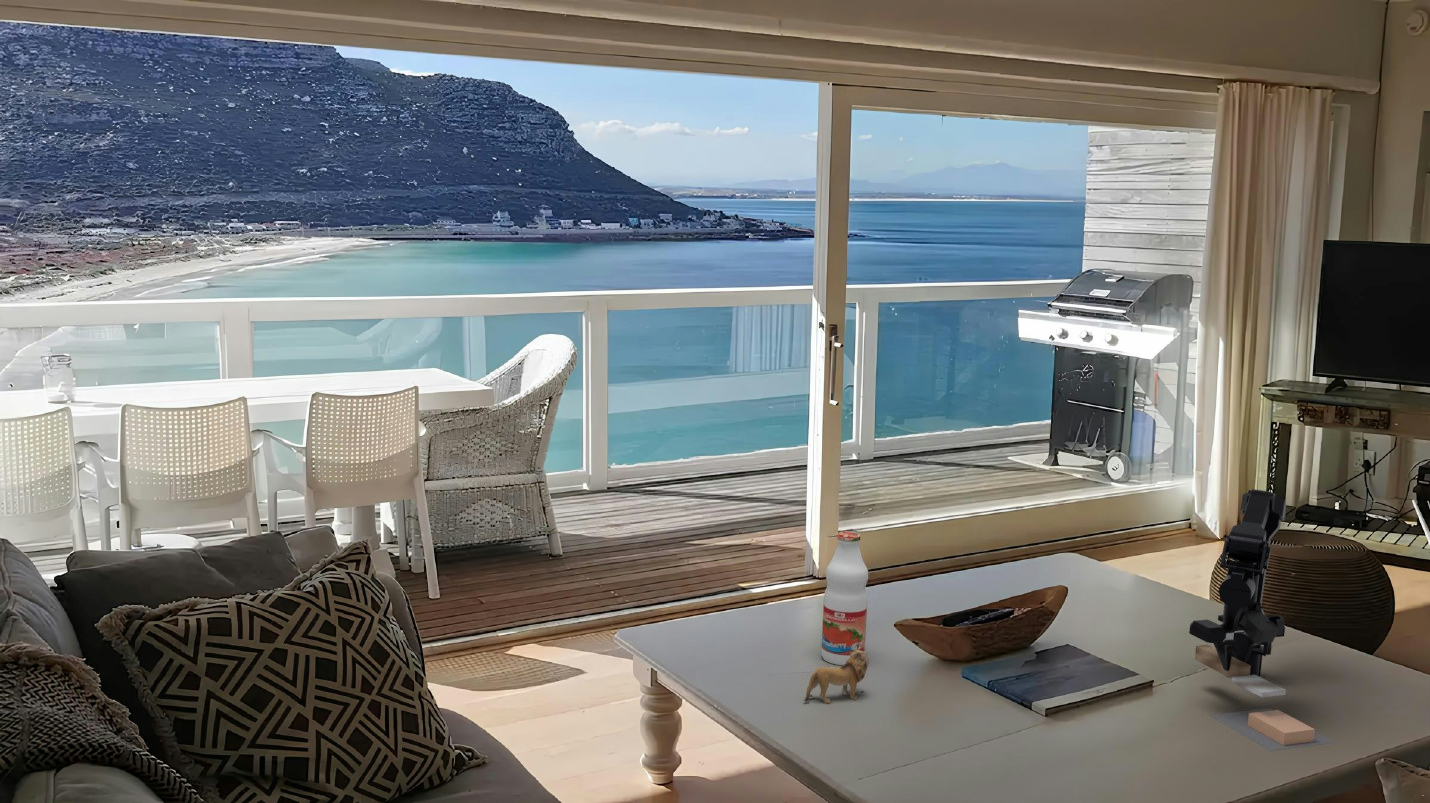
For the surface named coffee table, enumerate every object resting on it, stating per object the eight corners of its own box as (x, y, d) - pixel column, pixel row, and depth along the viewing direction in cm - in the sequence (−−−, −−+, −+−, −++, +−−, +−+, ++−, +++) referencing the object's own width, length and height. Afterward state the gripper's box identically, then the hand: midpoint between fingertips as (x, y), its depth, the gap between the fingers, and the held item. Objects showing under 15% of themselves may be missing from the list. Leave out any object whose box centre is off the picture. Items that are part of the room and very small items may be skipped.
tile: (1278, 709, 224) (1314, 729, 216) (1276, 721, 224) (1313, 741, 216) (1248, 713, 222) (1284, 733, 213) (1247, 725, 222) (1283, 745, 214)
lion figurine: (857, 687, 236) (859, 645, 235) (872, 696, 231) (875, 653, 230) (796, 699, 229) (799, 655, 227) (811, 709, 224) (814, 665, 223)
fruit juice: (870, 655, 253) (877, 532, 249) (855, 669, 245) (862, 541, 241) (830, 647, 258) (836, 525, 253) (814, 660, 249) (820, 535, 245)
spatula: (1189, 660, 239) (1190, 646, 238) (1211, 657, 240) (1213, 644, 240) (1261, 697, 220) (1263, 682, 219) (1285, 694, 221) (1286, 679, 221)
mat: (1270, 710, 231) (1271, 707, 231) (1335, 744, 216) (1335, 742, 216) (1209, 717, 227) (1209, 714, 227) (1270, 753, 212) (1270, 750, 211)
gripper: (1231, 610, 218) (1223, 689, 220) (1310, 604, 223) (1301, 680, 226) (1191, 592, 228) (1183, 667, 231) (1267, 586, 234) (1259, 660, 236)
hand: (1233, 669), depth 231 cm, fingers closed on spatula, 3 cm apart
